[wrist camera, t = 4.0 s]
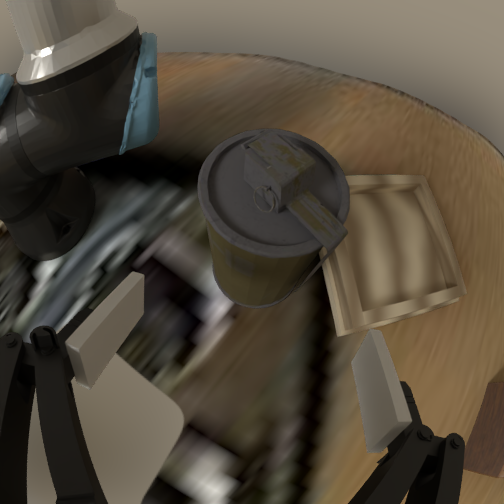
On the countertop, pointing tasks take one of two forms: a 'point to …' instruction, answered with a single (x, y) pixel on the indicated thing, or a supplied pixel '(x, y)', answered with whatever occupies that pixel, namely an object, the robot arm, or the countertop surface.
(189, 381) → the countertop surface
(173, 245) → the countertop surface
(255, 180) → the canister
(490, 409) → the tissue box cover
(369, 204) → the square tray
